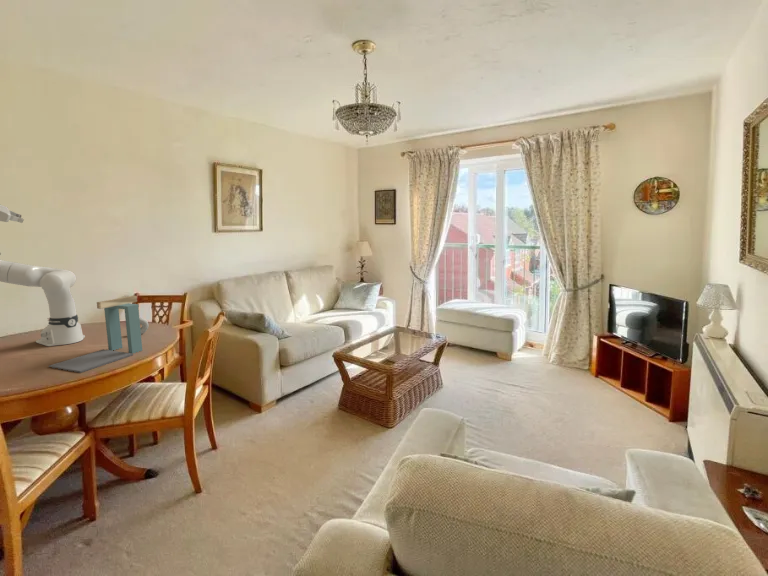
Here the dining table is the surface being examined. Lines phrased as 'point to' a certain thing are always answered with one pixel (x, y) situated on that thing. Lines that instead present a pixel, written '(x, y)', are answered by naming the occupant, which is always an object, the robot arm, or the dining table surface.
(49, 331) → the robot arm
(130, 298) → the stick
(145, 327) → the donut
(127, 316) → the teal arch
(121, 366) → the dining table surface
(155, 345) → the dining table surface
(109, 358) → the mat
